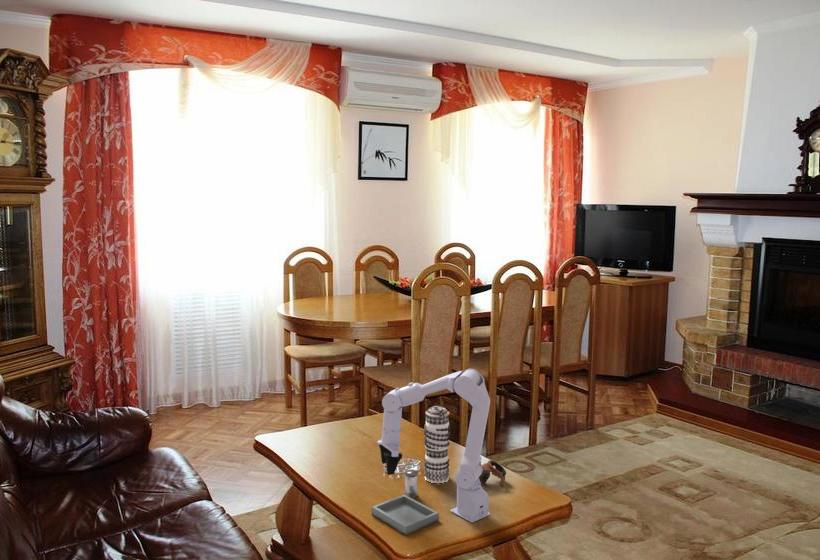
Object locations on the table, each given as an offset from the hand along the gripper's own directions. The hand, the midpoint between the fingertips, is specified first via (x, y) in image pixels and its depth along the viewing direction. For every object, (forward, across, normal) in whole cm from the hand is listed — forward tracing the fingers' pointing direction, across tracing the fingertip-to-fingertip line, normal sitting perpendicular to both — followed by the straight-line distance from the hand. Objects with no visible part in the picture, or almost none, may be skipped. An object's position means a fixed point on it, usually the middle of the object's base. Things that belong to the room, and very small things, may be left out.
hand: (388, 468), depth 215 cm
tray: (+9, +14, +3) cm, 17 cm away
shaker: (+10, 0, +8) cm, 13 cm away
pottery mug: (+8, -2, +36) cm, 37 cm away
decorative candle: (+9, -10, +20) cm, 24 cm away
